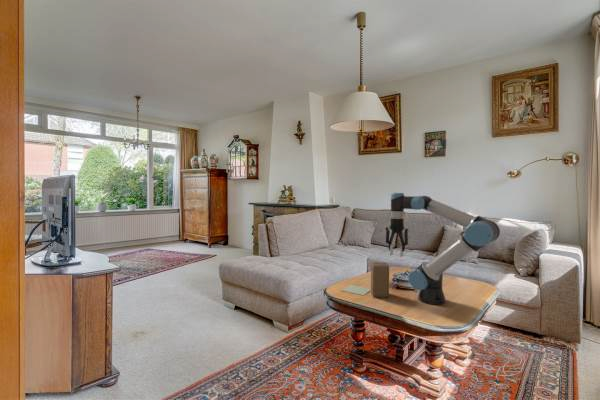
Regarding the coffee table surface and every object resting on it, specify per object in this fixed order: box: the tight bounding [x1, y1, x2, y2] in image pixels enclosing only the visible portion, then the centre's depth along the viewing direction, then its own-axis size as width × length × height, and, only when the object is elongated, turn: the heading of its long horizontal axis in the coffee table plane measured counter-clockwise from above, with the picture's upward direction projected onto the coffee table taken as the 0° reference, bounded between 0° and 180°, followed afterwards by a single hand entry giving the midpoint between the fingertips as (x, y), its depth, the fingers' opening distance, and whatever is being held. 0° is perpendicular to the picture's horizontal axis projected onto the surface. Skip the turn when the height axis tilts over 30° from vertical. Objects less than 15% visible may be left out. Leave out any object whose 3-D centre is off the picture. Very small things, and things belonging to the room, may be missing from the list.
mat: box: [341, 284, 371, 296], centre depth 209 cm, size 16×14×1 cm
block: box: [370, 261, 390, 299], centre depth 199 cm, size 10×10×20 cm
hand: (396, 255), depth 192 cm, fingers open, 6 cm apart
